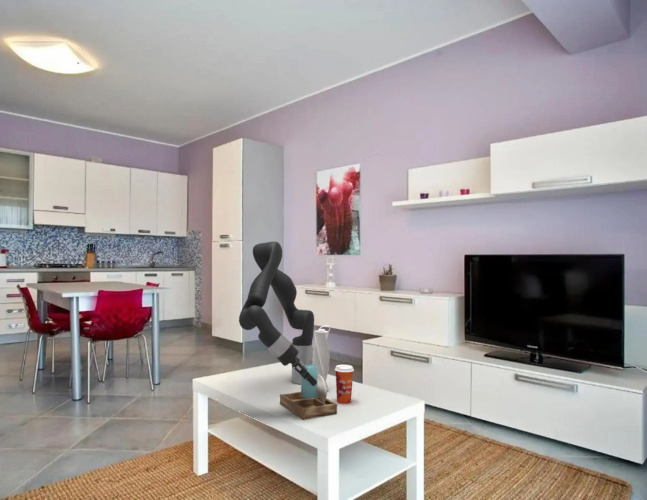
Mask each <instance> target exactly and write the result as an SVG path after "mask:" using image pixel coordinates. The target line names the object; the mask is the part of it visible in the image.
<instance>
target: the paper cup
mask: <svg viewBox="0 0 647 500" xmlns="http://www.w3.org/2000/svg"><path fill="white" fill-rule="evenodd" d="M334 371H335V383H336V384H335V385H336V386H335V387H336V388H335V389H336V402H337V403H338V404H343V405H347V404H350V403H351V402H352V395H353V381H354V380H353V378H354V377H353V376H354V371H355V369H354V367H353V366H352V365H350V364H337V365H336V366H335V368H334Z"/></svg>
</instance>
